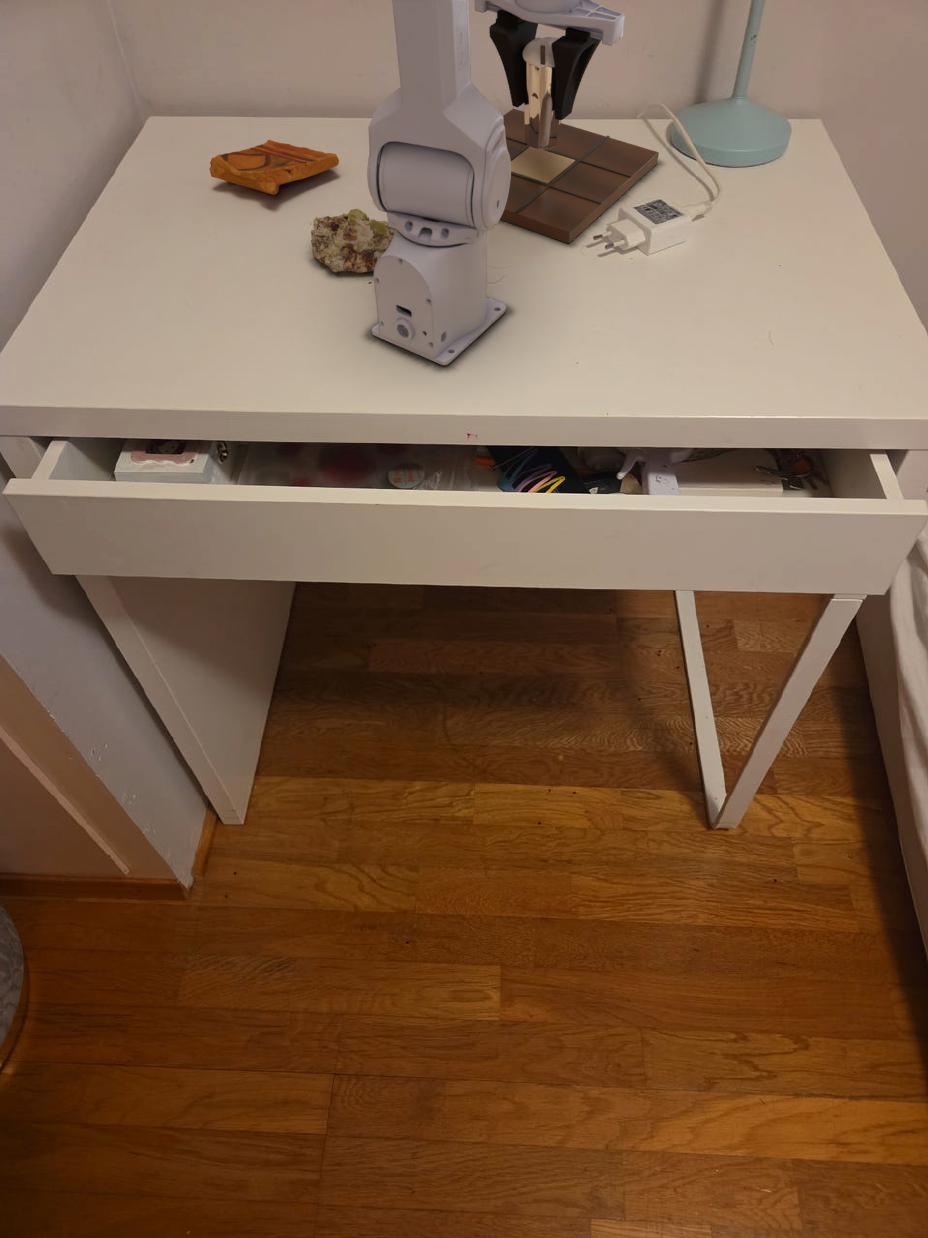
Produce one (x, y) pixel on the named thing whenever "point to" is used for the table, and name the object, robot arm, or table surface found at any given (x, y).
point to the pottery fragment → (270, 165)
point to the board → (568, 178)
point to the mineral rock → (350, 241)
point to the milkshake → (540, 94)
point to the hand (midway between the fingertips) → (542, 109)
